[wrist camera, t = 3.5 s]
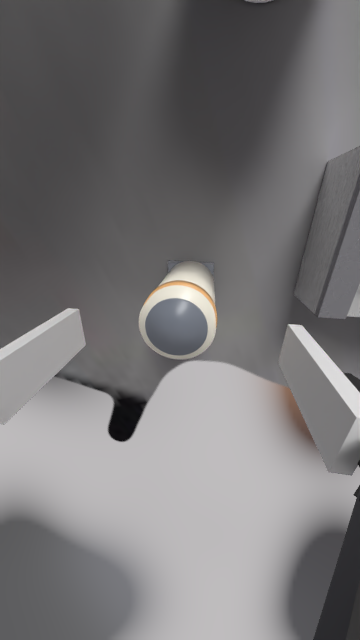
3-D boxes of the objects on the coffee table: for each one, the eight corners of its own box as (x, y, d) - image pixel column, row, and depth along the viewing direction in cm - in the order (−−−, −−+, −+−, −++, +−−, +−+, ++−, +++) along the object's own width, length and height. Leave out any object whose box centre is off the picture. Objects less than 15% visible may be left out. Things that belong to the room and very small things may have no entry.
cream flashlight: (166, 305, 24) (138, 359, 15) (165, 257, 22) (132, 287, 13) (213, 308, 23) (213, 366, 14) (217, 259, 21) (221, 292, 12)
